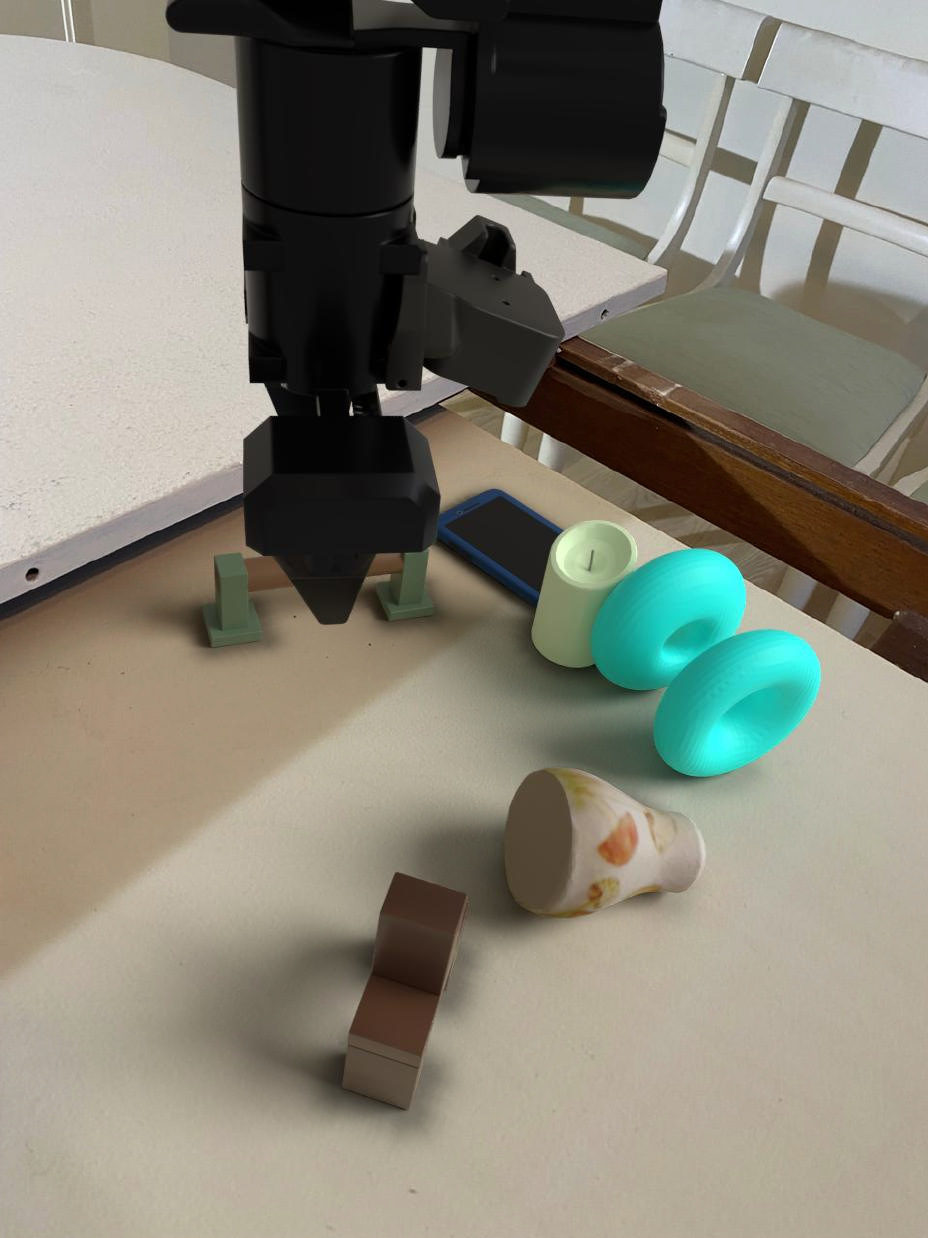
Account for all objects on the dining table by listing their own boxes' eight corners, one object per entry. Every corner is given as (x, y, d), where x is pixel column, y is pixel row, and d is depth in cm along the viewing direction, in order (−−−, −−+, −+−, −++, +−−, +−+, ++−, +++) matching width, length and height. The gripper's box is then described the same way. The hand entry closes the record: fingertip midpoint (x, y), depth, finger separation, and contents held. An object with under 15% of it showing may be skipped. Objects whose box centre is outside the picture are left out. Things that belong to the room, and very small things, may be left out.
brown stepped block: (409, 1111, 43) (436, 999, 36) (341, 1088, 43) (355, 973, 37) (455, 961, 48) (485, 841, 42) (394, 941, 48) (415, 819, 42)
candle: (567, 681, 63) (594, 586, 57) (514, 630, 66) (535, 534, 60) (624, 648, 66) (656, 553, 60) (572, 600, 68) (597, 505, 62)
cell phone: (576, 636, 66) (578, 628, 65) (423, 529, 72) (424, 520, 72) (642, 590, 70) (645, 582, 70) (492, 492, 76) (494, 484, 76)
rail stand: (211, 648, 61) (209, 584, 58) (202, 614, 63) (199, 550, 60) (433, 615, 66) (443, 554, 62) (418, 585, 68) (427, 524, 64)
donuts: (651, 805, 57) (704, 679, 50) (566, 680, 63) (602, 553, 56) (793, 762, 60) (859, 640, 54) (699, 648, 67) (748, 526, 60)
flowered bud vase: (725, 928, 52) (701, 869, 44) (538, 958, 54) (481, 907, 46) (696, 790, 56) (668, 712, 48) (523, 823, 58) (468, 754, 50)
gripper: (636, 318, 29) (552, 698, 39) (512, 105, 42) (474, 431, 53) (230, 311, 27) (255, 713, 37) (235, 90, 40) (253, 432, 51)
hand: (326, 549), depth 45 cm, fingers open, 9 cm apart
